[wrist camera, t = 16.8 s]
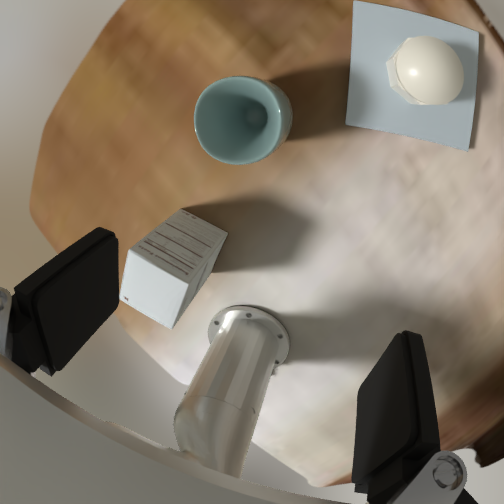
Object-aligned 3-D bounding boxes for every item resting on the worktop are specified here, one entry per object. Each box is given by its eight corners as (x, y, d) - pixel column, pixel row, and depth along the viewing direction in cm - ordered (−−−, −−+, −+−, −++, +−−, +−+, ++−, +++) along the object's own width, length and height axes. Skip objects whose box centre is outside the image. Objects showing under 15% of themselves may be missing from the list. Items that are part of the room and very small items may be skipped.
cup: (296, 79, 31) (281, 71, 22) (299, 148, 34) (285, 166, 26) (226, 83, 33) (188, 80, 24) (231, 148, 36) (196, 167, 28)
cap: (408, 33, 24) (421, 22, 19) (456, 73, 24) (475, 71, 20) (375, 75, 27) (383, 71, 22) (423, 115, 28) (439, 119, 23)
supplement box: (211, 274, 45) (171, 332, 34) (165, 249, 45) (116, 299, 34) (230, 232, 41) (190, 285, 30) (180, 205, 41) (126, 248, 30)
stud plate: (463, 149, 29) (482, 158, 24) (345, 123, 32) (346, 127, 27) (473, 34, 22) (493, 26, 18) (353, 4, 25) (355, -12, 20)
